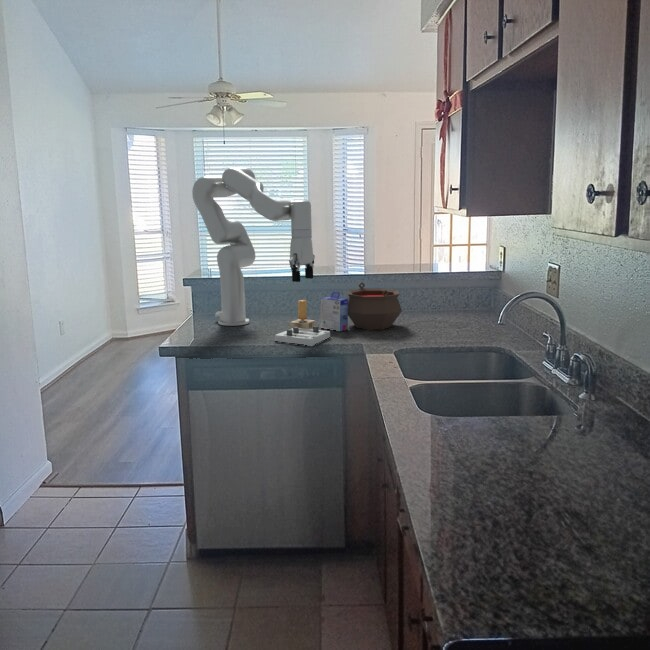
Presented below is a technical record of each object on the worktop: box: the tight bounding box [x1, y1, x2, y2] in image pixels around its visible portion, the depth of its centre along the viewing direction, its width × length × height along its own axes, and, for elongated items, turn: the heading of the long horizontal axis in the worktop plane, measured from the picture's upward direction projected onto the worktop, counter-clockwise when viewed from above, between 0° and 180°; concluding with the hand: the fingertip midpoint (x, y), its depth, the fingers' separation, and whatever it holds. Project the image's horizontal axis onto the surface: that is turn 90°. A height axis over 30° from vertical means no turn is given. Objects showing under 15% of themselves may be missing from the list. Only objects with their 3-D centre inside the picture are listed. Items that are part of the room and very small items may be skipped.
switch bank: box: [274, 328, 331, 347], centre depth 238 cm, size 15×14×3 cm
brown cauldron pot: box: [346, 281, 403, 330], centre depth 259 cm, size 24×24×16 cm
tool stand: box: [289, 318, 316, 329], centre depth 251 cm, size 7×7×4 cm
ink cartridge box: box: [319, 291, 349, 332], centre depth 254 cm, size 10×6×14 cm, turn 53°
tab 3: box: [310, 325, 321, 333], centre depth 240 cm, size 4×2×3 cm, turn 62°
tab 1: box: [285, 328, 296, 337], centre depth 235 cm, size 4×2×3 cm, turn 62°
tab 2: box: [292, 327, 302, 334], centre depth 239 cm, size 4×2×3 cm, turn 62°
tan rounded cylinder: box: [297, 299, 308, 322], centre depth 250 cm, size 3×3×12 cm
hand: (302, 279), depth 247 cm, fingers open, 9 cm apart
